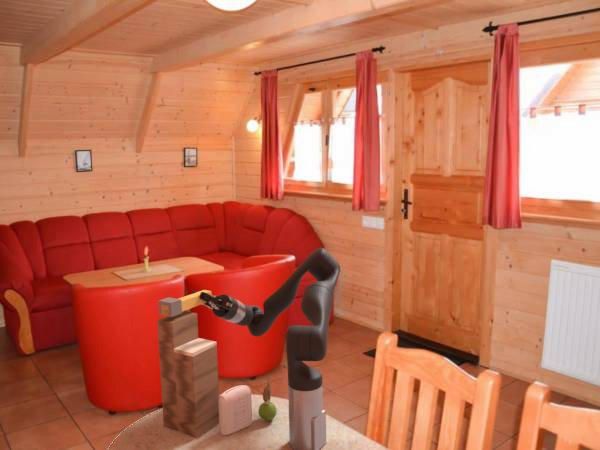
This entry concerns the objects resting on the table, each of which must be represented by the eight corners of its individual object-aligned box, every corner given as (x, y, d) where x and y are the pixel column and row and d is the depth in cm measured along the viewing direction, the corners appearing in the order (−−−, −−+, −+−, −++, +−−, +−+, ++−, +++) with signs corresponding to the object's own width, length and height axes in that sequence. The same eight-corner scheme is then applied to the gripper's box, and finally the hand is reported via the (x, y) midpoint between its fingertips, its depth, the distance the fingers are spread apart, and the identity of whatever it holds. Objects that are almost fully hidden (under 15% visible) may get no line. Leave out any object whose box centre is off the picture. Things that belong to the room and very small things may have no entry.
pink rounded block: (245, 419, 162) (244, 380, 161) (254, 424, 159) (253, 384, 158) (217, 432, 155) (215, 391, 154) (226, 437, 152) (224, 396, 150)
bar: (214, 300, 167) (213, 288, 166) (171, 316, 151) (171, 303, 151) (202, 298, 169) (201, 286, 169) (159, 314, 154) (158, 300, 153)
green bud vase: (279, 414, 165) (278, 376, 163) (274, 424, 159) (273, 386, 157) (261, 413, 166) (260, 375, 164) (256, 423, 160) (255, 385, 158)
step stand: (220, 422, 160) (215, 316, 156) (196, 438, 152) (191, 326, 147) (187, 412, 167) (182, 310, 163) (163, 426, 159) (157, 319, 154)
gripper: (216, 295, 182) (183, 279, 168) (249, 300, 174) (218, 284, 161) (209, 317, 180) (175, 303, 166) (243, 323, 172) (210, 309, 158)
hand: (196, 294), depth 163 cm, fingers closed on bar, 3 cm apart
